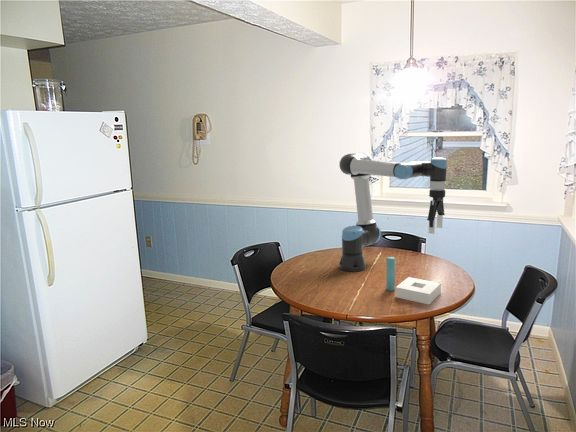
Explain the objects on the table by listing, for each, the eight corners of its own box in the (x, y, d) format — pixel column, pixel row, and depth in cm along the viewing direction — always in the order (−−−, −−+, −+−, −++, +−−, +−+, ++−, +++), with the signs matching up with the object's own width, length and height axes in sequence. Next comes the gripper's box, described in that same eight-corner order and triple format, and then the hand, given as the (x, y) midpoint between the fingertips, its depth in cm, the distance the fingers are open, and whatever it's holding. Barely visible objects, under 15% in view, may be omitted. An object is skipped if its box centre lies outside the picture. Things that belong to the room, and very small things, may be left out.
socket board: (395, 297, 200) (395, 287, 199) (408, 286, 212) (408, 277, 211) (429, 304, 190) (429, 294, 189) (440, 293, 203) (441, 283, 202)
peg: (384, 289, 209) (385, 258, 206) (388, 287, 212) (388, 256, 209) (392, 291, 207) (393, 259, 204) (395, 288, 210) (396, 257, 207)
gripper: (437, 193, 200) (435, 236, 205) (451, 186, 220) (449, 226, 224) (421, 192, 204) (420, 234, 209) (437, 185, 224) (435, 224, 229)
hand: (435, 230), depth 217 cm, fingers open, 13 cm apart
